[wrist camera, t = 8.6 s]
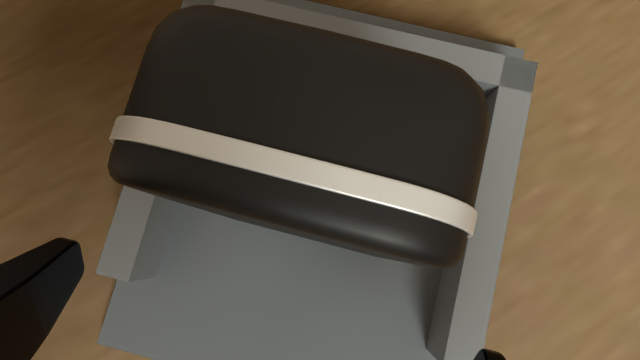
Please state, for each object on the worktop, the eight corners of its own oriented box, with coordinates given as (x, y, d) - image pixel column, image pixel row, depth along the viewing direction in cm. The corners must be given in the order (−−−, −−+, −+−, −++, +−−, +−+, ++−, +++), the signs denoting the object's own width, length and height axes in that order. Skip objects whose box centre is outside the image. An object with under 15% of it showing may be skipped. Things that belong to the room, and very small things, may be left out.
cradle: (444, 433, 17) (469, 473, 14) (104, 340, 18) (58, 359, 15) (518, 55, 19) (554, 19, 16) (214, -14, 20) (194, -61, 17)
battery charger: (411, 169, 18) (550, 40, 7) (389, 260, 18) (503, 283, 6) (248, 128, 19) (126, -58, 7) (222, 216, 18) (46, 163, 7)
